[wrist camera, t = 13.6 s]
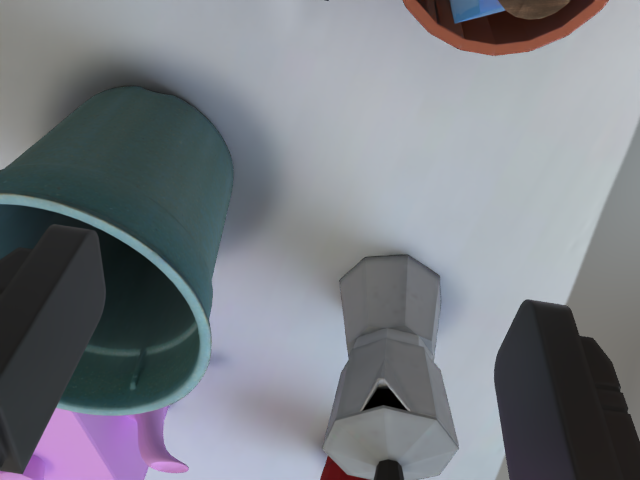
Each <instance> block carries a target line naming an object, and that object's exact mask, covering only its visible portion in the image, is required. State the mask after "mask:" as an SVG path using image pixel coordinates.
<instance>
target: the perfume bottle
mask: <svg viewBox="0 0 640 480" xmlns="http://www.w3.org/2000/svg"><path fill="white" fill-rule="evenodd" d="M449 1H450V5H451V10H452V14H453V19H454V23H459V22H463V21H467V20H471V19H475V18H479V17H482V16H486V15H490V14H494V13H498V12H502V11H507V12H509V13H510V14H512V15H514V16H515V17H518V18H523V19H528V20H531V19H540V18H544V17H547V16H549V15H552V14H554V13H556V12H558V11H559V10H560V9H562V8H563V7H564V6H566V5H567V4H568V3H569V2H570V0H449Z"/></svg>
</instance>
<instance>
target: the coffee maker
mask: <svg viewBox="0 0 640 480" xmlns="http://www.w3.org/2000/svg"><path fill="white" fill-rule="evenodd" d="M340 290H341V299H342V307H343V316H344V325H345V334H346V343H347V350H348V357H349V360H348V362H347V364H346V365H345V367H344V369H343V370H342V372H341V375H340V379H339V383H338V387H337V391H336V395H335V400H334V404H333V408H332V412H331V416H330V420H329V424H328V428H327V432H326V436H325V441H324V444H323V447H322V449H323V450H324V451H325V452H326V453H327V454H328V455H329V457H330V458H331V459H332V460H333V461H334V462H335V463H336V464H337V465H338V466H339V467H340V468H341V469H342V470H343V471H344V472H345V473H346V474H347V475H351V476H356V477H360V478H365V479H370V480H419V479H424V478H429V477H433V476H438V475H440V474H441V472H442V471H443V470H444V468H445V467H446V466H447V464H448V463H449V461H450V460H451V459H452V457H453V456H454V455H455V453H456V452H457V451H458V449H459V447H458V446H459V444H458V440H457V436H456V432H455V428H454V424H453V420H452V416H451V411H450V407H449V403H448V399H447V395H446V391H445V387H444V383H443V378H442V374H441V370H440V369H439V368H438V367H437V366H436V364H435V363H434V355H435V347H436V340H437V332H438V324H439V316H440V309H441V296H440V276H439V275H438V274H436V273H435V272H433V271H432V270H430V269H428V268H427V267H425V266H424V265H422V264H421V263H419V262H418V261H416V260H415V259H413V258H412V257H410V256H409V255H398V256H380V257H365V258H364V259H363V260H362V261H361V262H360V263H358V264H357V265H356V266H355V267H354V268H353V269H352V270H351V271H350V272H349V273H347V274H346V275H345V276H344V277H343V278H342V279H341V280H340Z"/></svg>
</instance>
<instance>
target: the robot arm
mask: <svg viewBox="0 0 640 480" xmlns="http://www.w3.org/2000/svg"><path fill="white" fill-rule="evenodd" d="M105 298H106V287H105V279H104V272H103V265H102V258H101V251H100V244H99V238H98V234H97V233H96V231H94V230H89V229H83V228H76V227H70V226H63V225H57V224H53V225H51V226H50V227H48V229H47V230H46V231H45V233H44V234H43V235H42V237H41V238H40V240H39V241H38V243H37V244H36V245H35V247H34V248H33V249H28V248H22V247H18V248H17V249H15V250H14V251H12V252H11V253H9V254H8V255H6V256H5V257H3V258H2V259H0V471H4V472H11V473H17V474H23V472H24V470H25V468H26V466H27V465H28V463H29V461H30V459H31V457H32V455H33V453H34V451H35V449H36V447H37V445H38V443H39V441H40V439H41V437H42V435H43V433H44V431H45V429H46V427H47V425H48V423H49V421H50V419H51V417H52V415H53V413H54V411H55V409H56V407H57V405H58V403H59V401H60V399H61V397H62V395H63V393H64V391H65V389H66V387H67V385H68V383H69V381H70V379H71V377H72V375H73V373H74V371H75V369H76V367H77V365H78V363H79V361H80V359H81V357H82V355H83V353H84V351H85V349H86V347H87V345H88V343H89V341H90V339H91V337H92V335H93V333H94V331H95V329H96V327H97V325H98V323H99V321H100V318H101V316H102V313H103V309H104V304H105ZM494 383H495V390H496V396H497V402H498V409H499V415H500V421H501V428H502V434H503V441H504V447H505V453H506V460H507V465H508V472H509V479H510V480H640V441H639V438H638V436H637V433H636V430H635V427H634V424H633V421H632V418H631V415H630V414H628V412H627V411H628V407H627V404H626V401H625V398H624V395H623V393H621V392H620V388H621V387H620V384H619V381H618V378H617V375H616V372H615V369H614V367H613V364H612V362H611V361H610V359H609V358H608V357H607V355H606V354H605V353H604V352H603V350H602V349H601V348H600V346H599V345H598V344H597V343H596V341H595V340H594V339H593V338H590V337H582V336H579V333H578V330H577V327H576V323H575V320H574V317H573V314H572V311H571V309H570V308H569V307H568V306H566V305H560V304H554V303H547V302H541V301H534V300H525V301H524V302H523V303H522V304H521V306H520V308H519V310H518V312H517V314H516V316H515V318H514V320H513V322H512V324H511V326H510V328H509V330H508V332H507V334H506V336H505V338H504V340H503V343H502V345H501V347H500V349H499V351H498V354H497V357H496V362H495V369H494Z"/></svg>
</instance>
